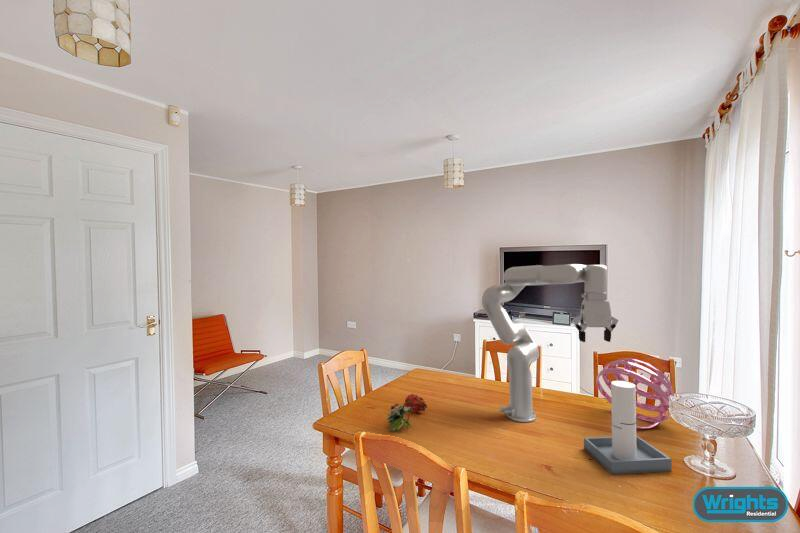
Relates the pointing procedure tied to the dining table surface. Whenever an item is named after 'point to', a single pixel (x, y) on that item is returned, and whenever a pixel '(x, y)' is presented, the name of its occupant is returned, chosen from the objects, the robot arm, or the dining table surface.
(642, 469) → the tray
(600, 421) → the dining table surface
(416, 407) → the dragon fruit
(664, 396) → the spiral basket
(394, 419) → the green leafy plant
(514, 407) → the robot arm
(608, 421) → the dining table surface
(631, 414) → the cylindrical container
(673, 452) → the dining table surface
